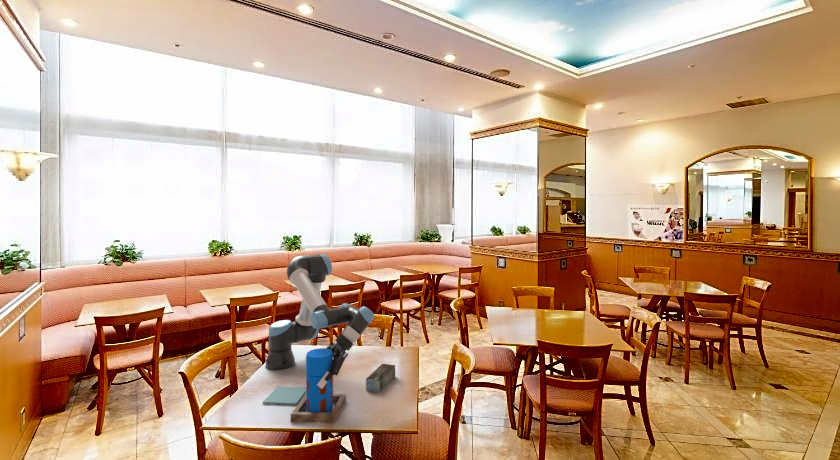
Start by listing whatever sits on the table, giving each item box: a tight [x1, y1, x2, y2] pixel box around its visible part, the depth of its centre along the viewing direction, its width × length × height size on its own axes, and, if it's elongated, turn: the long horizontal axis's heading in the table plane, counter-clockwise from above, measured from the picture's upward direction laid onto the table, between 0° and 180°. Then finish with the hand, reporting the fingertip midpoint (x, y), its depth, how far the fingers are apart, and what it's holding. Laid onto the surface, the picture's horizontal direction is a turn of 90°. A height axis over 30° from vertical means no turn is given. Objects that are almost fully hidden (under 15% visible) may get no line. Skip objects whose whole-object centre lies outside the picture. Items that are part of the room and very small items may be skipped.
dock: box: [290, 393, 347, 424], centre depth 161 cm, size 18×18×3 cm
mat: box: [262, 385, 306, 406], centre depth 173 cm, size 15×15×1 cm
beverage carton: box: [365, 363, 396, 393], centre depth 187 cm, size 8×19×7 cm, turn 161°
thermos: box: [305, 347, 334, 413], centre depth 160 cm, size 11×11×25 cm
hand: (313, 381), depth 159 cm, fingers open, 12 cm apart
